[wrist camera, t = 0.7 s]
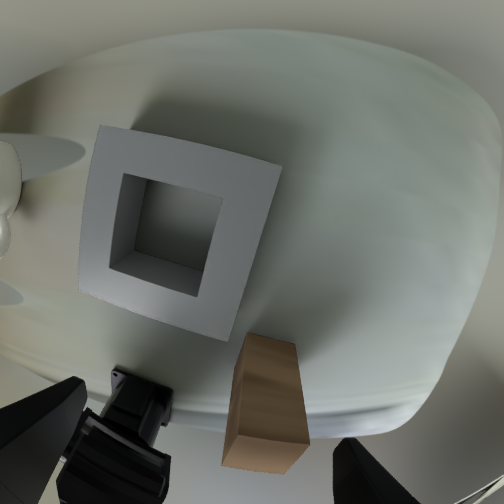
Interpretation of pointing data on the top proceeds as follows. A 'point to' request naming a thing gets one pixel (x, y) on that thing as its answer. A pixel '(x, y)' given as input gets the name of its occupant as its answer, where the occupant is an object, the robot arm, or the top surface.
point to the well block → (158, 270)
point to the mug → (8, 191)
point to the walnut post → (266, 408)
